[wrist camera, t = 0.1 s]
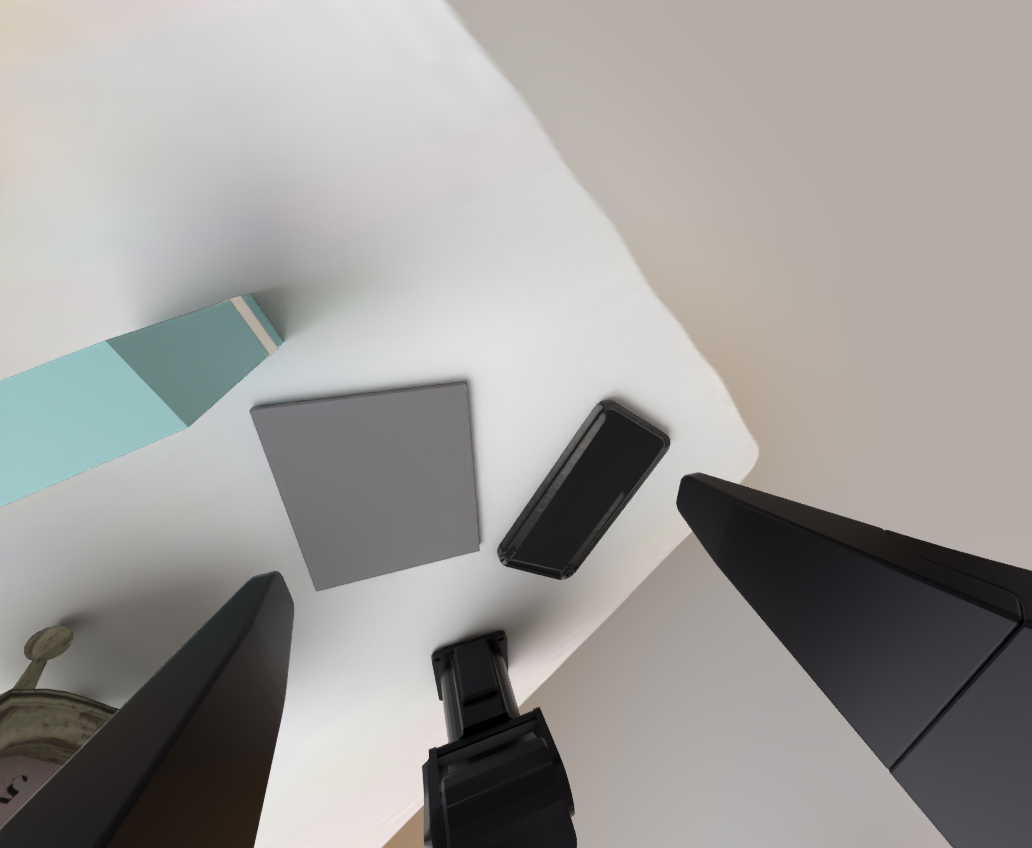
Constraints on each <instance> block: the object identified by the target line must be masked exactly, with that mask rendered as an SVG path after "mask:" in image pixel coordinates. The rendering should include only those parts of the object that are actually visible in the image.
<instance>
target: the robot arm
mask: <svg viewBox="0 0 1032 848" xmlns="http://www.w3.org/2000/svg"><path fill="white" fill-rule="evenodd" d="M676 504H677V508H678V511H679V512H680V514H681V515H682V517H683V518H684V519H685V521H686V522H687V524H688V525H689V527H690V528H691V529H692V531H693V532H694V534H695V535H696V536H697V538H698V539H699V541H700V542H701V544H702V545H703V547H704V548H705V550H706V551H707V552H708V554H709V555H710V557H711V558H712V559H713V561H714V562H715V563H716V565H717V566H718V567H719V568H720V569H721V571H722V572H723V573H724V574H725V576H726V577H727V578H728V579H729V580H730V582H731V583H732V584H733V585H734V586H735V588H736V589H737V590H738V591H739V592H740V594H741V595H742V596H743V597H744V598H745V600H746V601H747V602H748V603H749V604H750V605H751V607H752V608H753V609H754V610H755V611H756V613H757V614H758V615H759V616H760V617H761V619H762V620H763V621H764V622H765V623H766V625H767V626H768V627H769V628H770V629H771V631H772V632H773V633H774V634H775V635H776V636H777V638H778V639H779V640H780V641H781V642H782V644H783V645H784V646H785V647H786V648H787V650H788V651H789V652H790V653H791V654H792V656H793V657H794V658H795V659H796V660H797V661H798V663H799V664H800V665H801V666H802V668H803V669H804V670H805V671H806V672H807V673H808V675H809V676H810V677H811V678H812V679H813V681H814V682H815V683H816V684H817V686H818V687H819V688H820V689H821V690H822V691H823V693H824V694H825V695H826V696H827V697H828V699H829V700H830V701H831V702H832V703H833V705H834V706H835V707H836V708H837V709H838V711H839V712H840V713H841V714H842V715H843V716H844V718H845V719H846V720H847V721H848V722H849V724H850V725H851V726H852V727H853V728H854V730H855V731H856V732H857V733H858V735H859V736H860V737H861V738H862V739H863V740H864V742H865V743H866V744H867V745H868V746H869V748H870V749H871V750H872V751H873V752H874V754H875V755H876V756H877V757H878V758H879V760H880V761H881V762H882V763H883V764H884V765H885V767H886V768H888V769H889V772H890V773H891V774H892V776H893V777H894V778H895V779H896V780H897V782H898V783H899V784H900V785H901V786H902V788H903V789H904V790H905V791H906V792H907V794H908V795H909V796H910V797H911V798H912V799H913V801H914V802H915V803H916V804H917V805H918V807H919V808H920V809H921V810H922V812H923V813H924V814H925V815H926V816H927V817H928V819H929V820H930V821H931V822H932V823H933V825H934V826H935V827H936V828H937V829H938V831H939V832H940V833H941V834H942V835H943V837H944V838H945V839H946V840H947V841H948V843H949V844H950V845H951V846H952V847H953V848H1032V571H1030V570H1027V569H1023V568H1019V567H1015V566H1012V565H1008V564H1004V563H1001V562H996V561H993V560H989V559H985V558H982V557H978V556H974V555H971V554H968V553H964V552H960V551H957V550H953V549H950V548H946V547H942V546H939V545H936V544H932V543H929V542H926V541H922V540H919V539H915V538H912V537H909V536H906V535H902V534H899V533H896V532H893V531H889V530H883V529H882V528H879V527H876V526H872V525H869V524H866V523H863V522H860V521H856V520H853V519H850V518H847V517H843V516H840V515H836V514H834V513H830V512H827V511H824V510H820V509H817V508H814V507H811V506H807V505H804V504H801V503H798V502H794V501H791V500H788V499H784V498H781V497H778V496H775V495H772V494H768V493H765V492H762V491H758V490H755V489H751V488H749V487H745V486H742V485H739V484H736V483H732V482H729V481H726V480H723V479H719V478H716V477H713V476H709V475H706V474H703V473H692V474H688V475H685V476H683V478H682V479H681V482H680V487H679V491H678V496H677V501H676ZM293 620H294V603H293V600H292V597H291V595H290V593H289V590H288V588H287V586H286V583H285V581H284V579H283V576H282V575H281V574H280V573H279V572H277V571H273V572H269V573H265V574H261V575H256V576H254V577H252V578H251V579H249V580H248V581H247V582H246V583H245V584H244V585H243V586H242V587H241V588H240V589H239V590H238V591H237V592H236V593H235V594H234V595H233V596H232V597H231V598H230V599H229V600H228V601H227V602H226V603H225V604H224V605H223V606H222V607H221V608H220V609H219V610H218V611H217V612H216V613H215V614H214V615H213V616H212V617H211V618H210V619H209V620H208V621H207V622H206V623H205V624H204V625H203V626H202V627H201V628H200V629H199V630H198V631H197V632H196V633H195V634H194V635H193V636H192V637H191V638H190V639H189V640H188V641H187V642H186V643H185V644H184V645H183V646H182V647H181V648H180V649H179V650H178V651H177V652H176V653H175V654H174V655H173V656H172V657H171V658H170V659H169V660H168V661H167V662H166V663H165V664H164V665H163V666H162V667H161V668H160V669H159V670H158V671H157V672H156V673H155V674H154V675H153V676H152V677H151V678H150V679H149V680H148V681H147V682H146V683H145V684H144V685H143V686H142V687H141V688H140V689H139V690H138V691H137V692H136V693H135V694H134V695H133V696H132V697H131V698H130V699H129V700H128V701H127V702H126V703H125V704H124V705H123V706H122V707H121V708H120V709H119V710H118V711H117V712H116V713H115V714H114V715H113V716H112V717H111V718H110V719H109V720H108V721H107V722H106V723H105V724H104V725H103V726H102V727H101V728H100V729H99V730H98V731H97V732H96V733H95V734H94V735H93V736H92V737H91V738H90V739H89V740H88V741H87V742H86V743H85V744H84V745H83V746H82V747H81V748H80V749H79V750H78V751H77V752H76V753H75V754H74V755H73V756H72V757H71V758H70V759H69V760H68V761H67V762H66V763H65V764H64V765H63V766H62V767H61V768H60V769H59V770H58V771H57V772H56V773H55V774H54V775H53V776H52V777H51V778H50V779H49V780H48V781H47V782H46V783H45V784H44V785H43V786H42V787H41V788H40V789H39V790H38V791H37V792H36V793H35V794H34V795H33V796H32V797H31V798H30V799H29V800H28V801H27V802H26V803H25V804H24V805H23V806H22V807H21V808H20V809H19V810H18V811H17V812H16V813H15V814H14V815H13V816H12V817H11V818H10V819H9V820H8V821H7V822H6V823H5V824H4V825H3V826H2V827H1V828H0V848H254V844H255V840H256V835H257V830H258V826H259V821H260V816H261V812H262V807H263V802H264V798H265V793H266V788H267V784H268V779H269V774H270V770H271V765H272V760H273V756H274V751H275V746H276V742H277V737H278V732H279V727H280V723H281V718H282V713H283V708H284V702H285V695H286V687H287V678H288V668H289V659H290V649H291V639H292V629H293ZM431 658H432V665H433V670H434V675H435V680H436V685H437V691H438V696H439V699H440V700H443V705H444V712H445V720H446V728H447V736H448V744H446V745H443V746H441V747H438V748H436V747H434V748H431V749H429V759H428V761H427V762H426V763H425V764H424V765H423V766H422V771H423V785H424V845H425V848H577V838H576V833H575V830H574V826H573V823H572V820H571V817H572V816H574V812H575V811H574V803H573V798H572V793H571V789H570V785H569V781H568V778H567V774H566V771H565V768H564V765H563V762H562V760H561V757H560V755H559V752H558V750H557V748H556V745H555V743H554V740H553V738H552V736H551V733H550V731H549V728H548V726H547V724H546V721H545V719H544V717H543V714H542V712H541V710H540V707H537V708H534V709H533V711H530V712H528V713H526V714H523V715H520V714H519V710H518V706H517V703H516V700H515V696H514V693H513V689H512V686H511V682H510V679H509V675H508V658H507V637H506V634H505V632H504V631H499V632H496V633H493V634H490V635H487V636H484V637H480V638H477V639H474V640H471V641H468V642H465V643H461V644H458V645H455V646H452V647H449V648H446V649H442V650H439V651H436V652H434V653H433V654H432V656H431Z"/></svg>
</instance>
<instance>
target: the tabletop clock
mask: <svg viewBox="0 0 1032 848" xmlns="http://www.w3.org/2000/svg"><path fill="white" fill-rule="evenodd" d="M72 640H73V633H72V631H71V630H70V629H69V628H67V627H64V626H54V627H50V628H46V629H44V630H41V631H39V632H38V633H36V634H35V635H33V636H32V637H31V638H30V639H29V640H28V641H27V643H26V645H25V647H24V654H25V656H26V658H28V659H29V660H32V662H31V664H30V665H29V667H28V668H27V669H26V671H25V672H24V674H23V675H22V676H21V678H20V679H19V681H18V682H17V683H16V685H15V686H14V688H13V689H11V690H9V691H6V692H4V693H2V694H0V828H1V827H2V826H3V825H4V824H5V823H6V822H7V821H8V820H9V819H10V818H11V817H12V816H13V815H14V814H15V813H16V812H17V811H18V810H19V809H20V808H21V807H22V806H23V805H24V804H25V803H26V802H27V801H28V800H29V799H30V798H31V797H32V796H33V795H34V794H35V793H36V792H37V791H38V790H39V789H40V788H41V787H42V786H43V785H44V784H45V783H46V782H47V781H48V780H49V779H50V778H51V777H52V776H53V775H54V774H55V773H56V772H57V771H58V770H59V769H60V768H61V767H62V766H63V765H64V764H65V763H66V762H67V761H68V760H69V759H70V758H71V757H72V756H73V755H74V754H75V753H76V752H77V751H78V750H79V749H80V748H81V747H82V746H83V745H84V744H85V743H86V742H87V741H88V740H89V739H90V738H91V737H92V736H93V735H94V734H95V733H96V732H97V731H98V730H99V729H100V728H101V727H102V726H103V725H104V724H105V723H106V722H107V721H108V720H109V719H110V718H111V717H112V716H113V715H114V714H115V713H116V712H117V711H118V710H119V709H117V708H114V707H111V706H108V705H105V704H102V703H100V702H97V701H94V700H91V699H88V698H86V697H82V696H79V695H76V694H73V693H69V692H65V691H58V690H52V689H35V687H36V685H37V682H38V680H39V678H40V676H41V674H42V671H43V669H44V667H45V665H46V662H47V660H49V659H53V658H55V657H57V656H59V655H60V654H62V653H63V652H64V651H66V650H67V648H68V647H69V646H70V645H71V642H72Z"/></svg>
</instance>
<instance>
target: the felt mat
mask: <svg viewBox="0 0 1032 848" xmlns="http://www.w3.org/2000/svg"><path fill="white" fill-rule="evenodd" d="M250 414H251V416H252V419H253V422H254V425H255V427H256V430H257V433H258V435H259V438H260V441H261V443H262V446H263V449H264V452H265V454H266V457H267V460H268V462H269V465H270V468H271V470H272V473H273V476H274V479H275V481H276V484H277V487H278V489H279V492H280V495H281V497H282V500H283V503H284V506H285V508H286V511H287V514H288V516H289V519H290V522H291V524H292V527H293V530H294V533H295V535H296V538H297V541H298V543H299V546H300V549H301V551H302V554H303V557H304V559H305V562H306V565H307V568H308V570H309V573H310V576H311V578H312V581H313V584H314V586H315V589H316V591H320V590H324V589H328V588H332V587H336V586H340V585H344V584H348V583H352V582H356V581H360V580H364V579H368V578H372V577H376V576H380V575H384V574H388V573H392V572H396V571H400V570H404V569H408V568H412V567H416V566H420V565H424V564H428V563H432V562H436V561H440V560H444V559H448V558H452V557H456V556H460V555H464V554H468V553H472V552H476V551H480V548H479V535H478V523H477V510H476V498H475V485H474V473H473V460H472V447H471V435H470V422H469V410H468V397H467V385H466V383H465V382H461V383H452V384H444V385H435V386H427V387H418V388H410V389H401V390H393V391H385V392H376V393H368V394H359V395H351V396H342V397H334V398H325V399H317V400H309V401H300V402H292V403H283V404H275V405H266V406H258V407H252V408H251V410H250Z"/></svg>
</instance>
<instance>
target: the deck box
mask: <svg viewBox="0 0 1032 848" xmlns="http://www.w3.org/2000/svg"><path fill="white" fill-rule="evenodd" d="M283 342H284V341H283V340H282V338H281V337H280V336H279V334H278V333H277V331H276V330H275V328H274V327H273V325H272V324H271V323H270V321H269V320H268V318H267V317H266V315H265V314H264V312H263V311H262V310H261V308H260V307H259V305H258V304H257V302H256V301H255V299H254V298H253V297H252V295H251V294H248V295H245V296H242V297H241V296H237V297H234V298H231V299H228V300H225V301H223V302H220V303H218V304H215V305H212V306H210V307H207V308H204V309H201V310H198V311H195V312H192V313H189V314H186V315H183V316H180V317H177V318H173V319H170V320H167V321H164V322H161V323H158V324H155V325H152V326H149V327H145V328H142V329H139V330H136V331H133V332H130V333H127V334H124V335H121V336H117V337H114V338H111V339H108V340H105V341H102V342H100V343H97V344H95V345H92V346H89V347H87V348H84V349H82V350H79V351H76V352H74V353H71V354H69V355H66V356H63V357H61V358H58V359H56V360H53V361H50V362H48V363H45V364H43V365H40V366H37V367H35V368H32V369H30V370H27V371H24V372H22V373H19V374H17V375H14V376H11V377H9V378H6V379H4V380H1V381H0V507H1V506H4V505H6V504H8V503H11V502H13V501H16V500H18V499H20V498H23V497H25V496H27V495H30V494H32V493H34V492H37V491H39V490H42V489H44V488H46V487H49V486H51V485H53V484H56V483H58V482H60V481H63V480H65V479H68V478H70V477H72V476H75V475H77V474H79V473H82V472H84V471H86V470H89V469H91V468H94V467H96V466H98V465H101V464H103V463H105V462H108V461H110V460H112V459H115V458H117V457H120V456H122V455H124V454H127V453H129V452H131V451H134V450H136V449H138V448H141V447H143V446H146V445H148V444H150V443H153V442H155V441H157V440H160V439H162V438H164V437H167V436H169V435H172V434H174V433H176V432H179V431H181V430H183V429H186V428H188V427H189V426H190V425H192V424H193V423H194V422H195V421H196V420H197V419H198V418H199V417H200V416H202V415H203V414H204V413H205V412H206V411H207V410H208V409H209V408H211V407H212V406H213V405H214V404H215V403H216V402H217V401H218V400H219V399H221V398H222V397H223V396H224V395H225V394H226V393H227V392H228V391H230V390H231V389H232V388H233V387H234V386H235V385H236V384H237V383H238V382H240V381H241V380H242V379H243V378H244V377H245V376H246V375H247V374H248V373H250V372H251V371H252V370H253V369H254V368H255V367H256V366H257V365H259V364H260V363H261V362H262V361H263V360H264V359H265V358H266V357H269V356H271V355H272V354H273V353H274V352H276V351H277V350H278V347H279V346H280V345H281V344H282V343H283Z"/></svg>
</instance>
